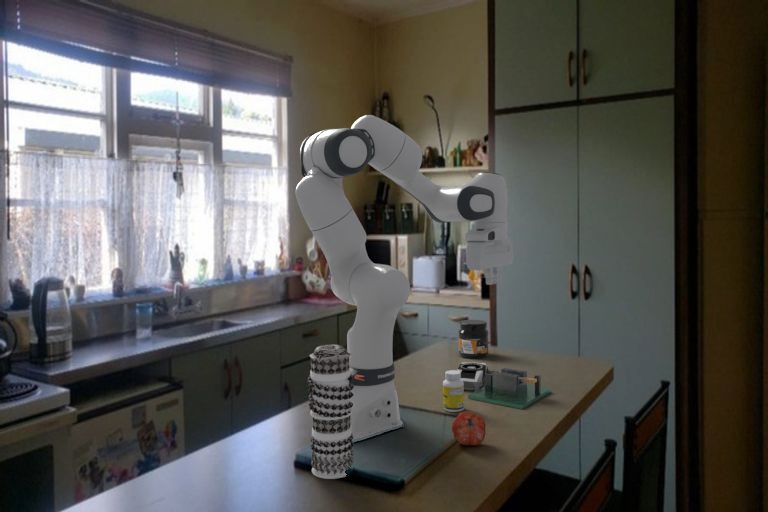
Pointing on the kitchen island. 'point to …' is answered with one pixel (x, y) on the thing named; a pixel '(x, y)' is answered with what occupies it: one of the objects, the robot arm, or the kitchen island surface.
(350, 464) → the decorative candle
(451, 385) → the supplement bottle
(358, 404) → the robot arm
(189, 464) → the kitchen island surface
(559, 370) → the kitchen island surface
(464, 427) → the pomegranate
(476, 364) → the graphics card
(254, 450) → the kitchen island surface
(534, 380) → the white strip
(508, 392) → the circuit board
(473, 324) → the supplement container
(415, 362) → the kitchen island surface
